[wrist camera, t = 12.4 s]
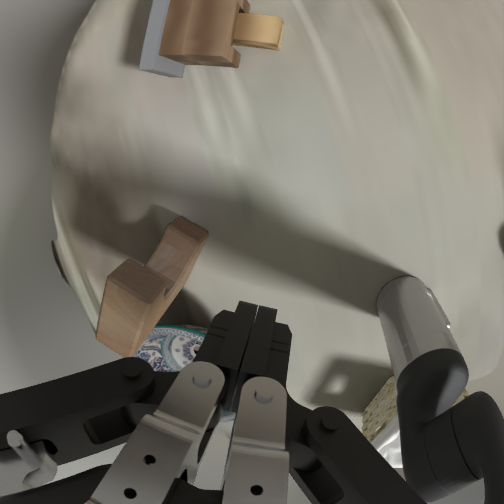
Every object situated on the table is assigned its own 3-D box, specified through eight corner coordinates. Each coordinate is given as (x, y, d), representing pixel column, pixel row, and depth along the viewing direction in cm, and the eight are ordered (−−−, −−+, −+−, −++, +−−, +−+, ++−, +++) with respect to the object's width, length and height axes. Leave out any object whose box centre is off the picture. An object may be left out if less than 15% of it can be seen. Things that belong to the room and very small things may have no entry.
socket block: (250, 6, 31) (237, -17, 24) (238, 67, 35) (222, 56, 28) (196, 5, 31) (173, -14, 24) (183, 64, 36) (158, 54, 29)
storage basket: (353, 413, 58) (355, 467, 45) (389, 367, 51) (400, 427, 38) (433, 421, 57) (442, 467, 44) (470, 379, 50) (489, 428, 36)
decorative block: (180, 214, 46) (106, 274, 28) (211, 232, 46) (152, 304, 28) (157, 267, 51) (92, 338, 33) (185, 284, 51) (129, 363, 33)
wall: (199, -5, 31) (175, -28, 23) (182, 77, 37) (153, 69, 29) (186, -5, 31) (160, -26, 23) (170, 77, 37) (138, 69, 29)
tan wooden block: (284, 26, 32) (281, 17, 28) (279, 51, 34) (276, 43, 30) (214, 20, 33) (205, 11, 29) (208, 44, 34) (199, 37, 31)
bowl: (139, 358, 62) (120, 387, 54) (156, 271, 51) (130, 300, 42) (240, 402, 62) (231, 436, 54) (288, 329, 51) (283, 368, 42)
